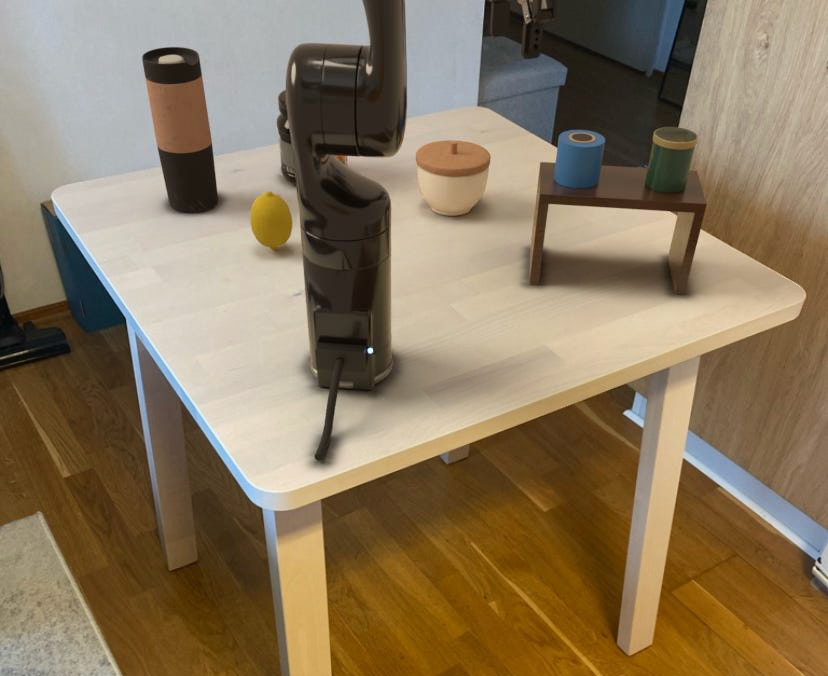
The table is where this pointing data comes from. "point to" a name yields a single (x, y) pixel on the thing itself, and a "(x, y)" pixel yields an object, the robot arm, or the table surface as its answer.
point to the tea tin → (670, 159)
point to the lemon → (271, 220)
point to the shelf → (627, 193)
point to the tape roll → (579, 158)
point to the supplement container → (289, 142)
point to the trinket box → (452, 175)
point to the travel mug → (181, 127)
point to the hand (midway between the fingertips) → (514, 46)
